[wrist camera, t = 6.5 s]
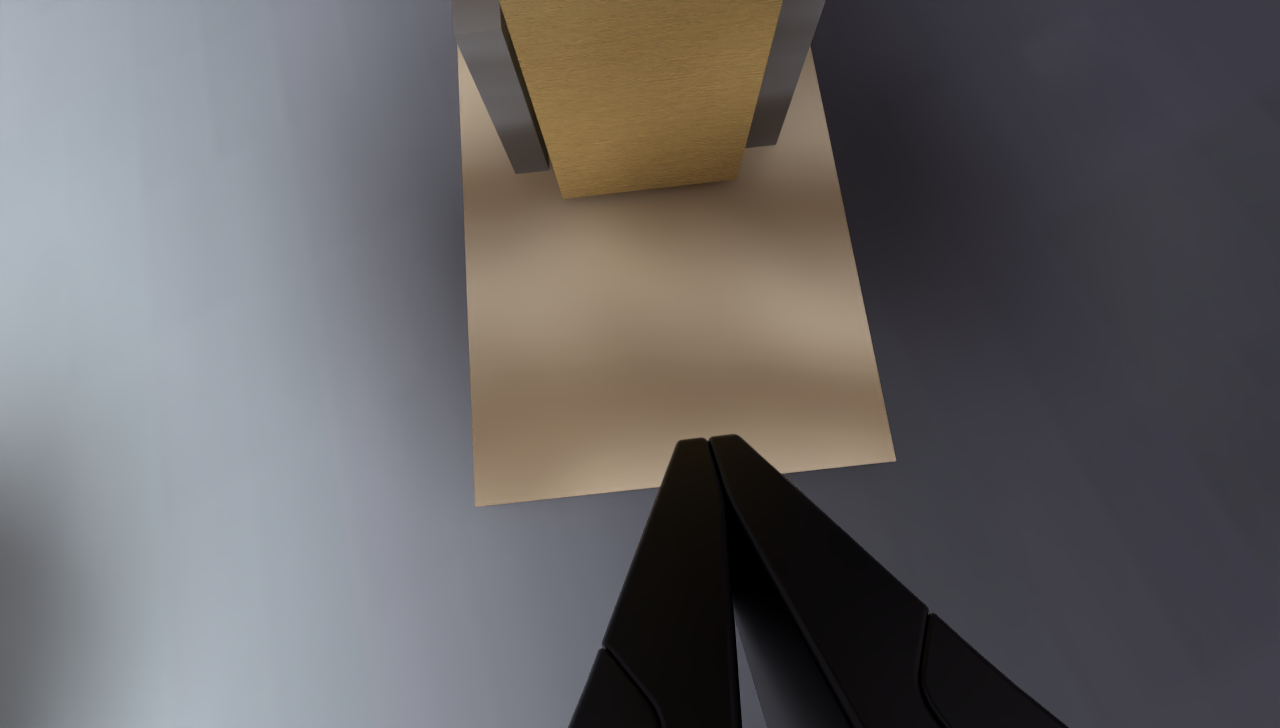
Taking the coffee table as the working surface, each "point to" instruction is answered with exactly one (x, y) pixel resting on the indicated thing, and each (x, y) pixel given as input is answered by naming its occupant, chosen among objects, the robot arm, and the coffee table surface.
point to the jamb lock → (657, 294)
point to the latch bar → (642, 87)
